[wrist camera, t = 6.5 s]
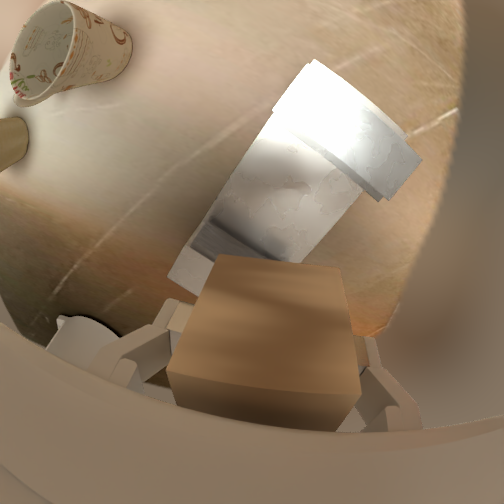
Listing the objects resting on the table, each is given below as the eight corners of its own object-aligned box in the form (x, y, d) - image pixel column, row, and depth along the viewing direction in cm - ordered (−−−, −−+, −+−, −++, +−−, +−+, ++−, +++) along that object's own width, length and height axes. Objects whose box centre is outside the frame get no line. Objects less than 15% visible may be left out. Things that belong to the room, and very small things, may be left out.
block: (220, 323, 14) (185, 430, 8) (218, 253, 12) (165, 370, 6) (320, 335, 13) (322, 447, 8) (339, 267, 11) (361, 394, 6)
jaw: (367, 187, 22) (383, 207, 18) (271, 115, 20) (266, 117, 16) (399, 148, 20) (422, 160, 16) (304, 72, 18) (307, 63, 14)
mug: (156, 58, 20) (88, 45, 11) (72, 130, 24) (5, 152, 15) (125, 4, 16) (60, -18, 8) (49, 78, 21) (-17, 87, 12)
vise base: (254, 305, 32) (247, 345, 27) (179, 259, 30) (157, 294, 25) (403, 134, 20) (434, 144, 15) (313, 61, 19) (320, 46, 13)
